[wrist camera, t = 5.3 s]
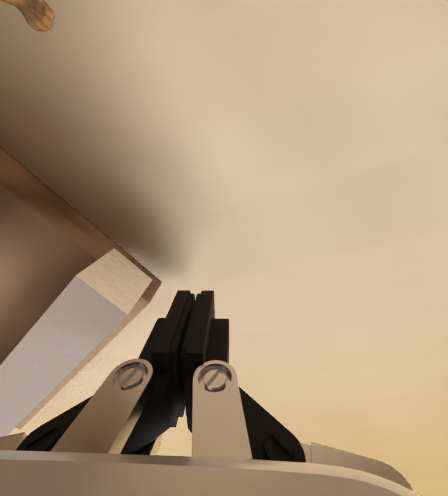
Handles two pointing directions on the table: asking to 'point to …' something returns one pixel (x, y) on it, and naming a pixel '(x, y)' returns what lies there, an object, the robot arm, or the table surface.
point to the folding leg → (67, 334)
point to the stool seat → (45, 259)
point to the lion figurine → (35, 13)
